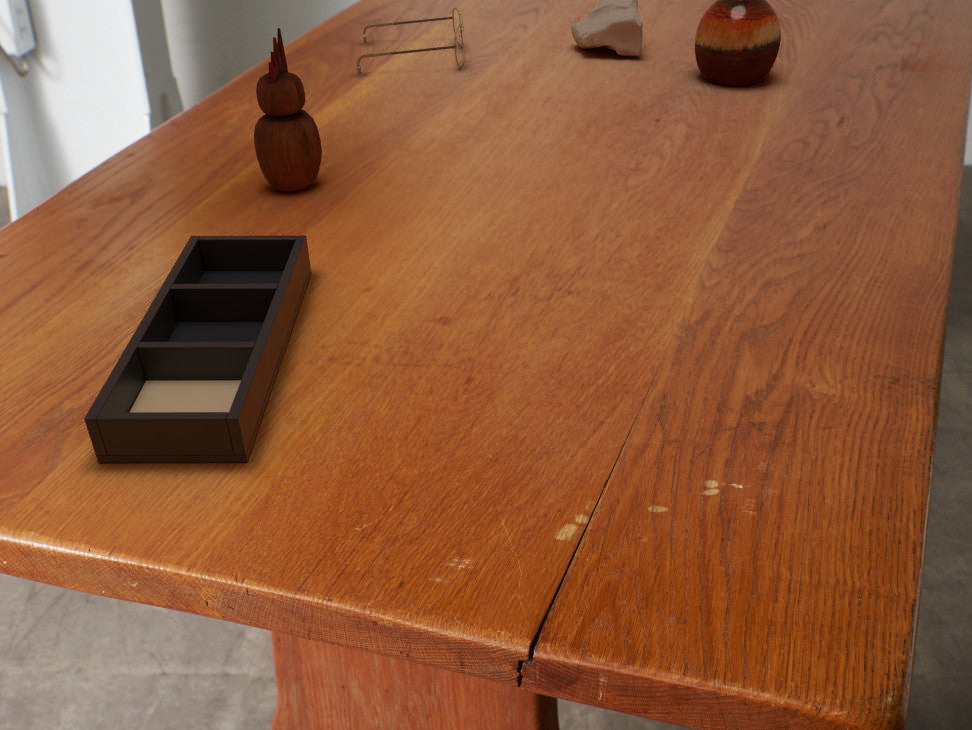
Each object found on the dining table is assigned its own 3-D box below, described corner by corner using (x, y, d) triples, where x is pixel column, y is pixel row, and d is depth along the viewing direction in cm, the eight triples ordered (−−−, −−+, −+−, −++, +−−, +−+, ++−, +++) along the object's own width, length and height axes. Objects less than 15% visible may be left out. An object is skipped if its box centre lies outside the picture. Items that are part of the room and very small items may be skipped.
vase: (756, 95, 130) (776, -39, 120) (677, 82, 135) (690, -49, 125) (786, 73, 137) (806, -55, 128) (710, 62, 142) (724, -63, 132)
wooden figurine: (293, 170, 110) (272, 21, 100) (335, 180, 108) (317, 29, 98) (250, 191, 105) (224, 36, 96) (293, 202, 103) (271, 45, 94)
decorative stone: (561, 32, 148) (602, -31, 144) (607, 70, 152) (649, 10, 149) (578, 45, 139) (623, -22, 136) (627, 84, 143) (672, 21, 140)
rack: (97, 463, 68) (83, 418, 66) (199, 273, 90) (190, 235, 88) (247, 462, 68) (238, 418, 66) (311, 273, 90) (306, 235, 88)
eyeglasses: (466, 71, 139) (465, 32, 135) (357, 73, 138) (353, 34, 135) (463, 40, 151) (462, 3, 148) (363, 42, 150) (359, 5, 147)
